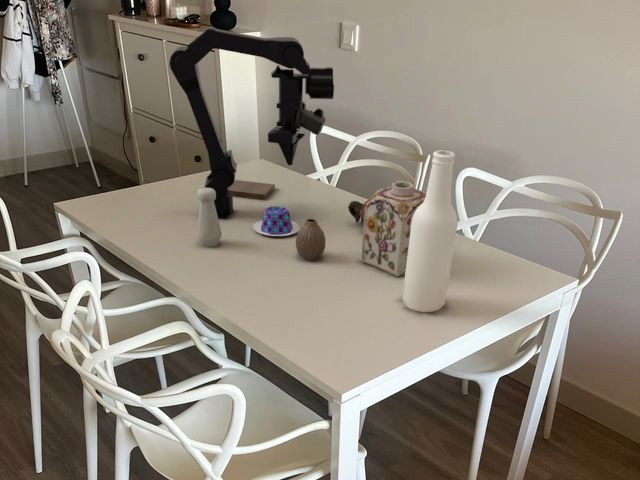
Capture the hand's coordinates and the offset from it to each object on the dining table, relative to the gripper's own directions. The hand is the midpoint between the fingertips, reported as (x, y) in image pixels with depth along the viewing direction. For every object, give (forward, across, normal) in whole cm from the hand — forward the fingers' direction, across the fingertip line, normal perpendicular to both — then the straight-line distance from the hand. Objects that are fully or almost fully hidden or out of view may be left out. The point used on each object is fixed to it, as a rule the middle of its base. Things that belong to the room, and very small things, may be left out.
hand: (290, 164), depth 170 cm
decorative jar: (+13, -23, -32) cm, 42 cm away
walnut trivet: (+13, +14, +16) cm, 25 cm away
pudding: (+13, -12, 0) cm, 18 cm away
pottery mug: (+13, -2, -22) cm, 26 cm away
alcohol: (+13, -42, -41) cm, 60 cm away
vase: (+13, -26, -12) cm, 32 cm away
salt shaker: (+13, -26, +12) cm, 32 cm away
